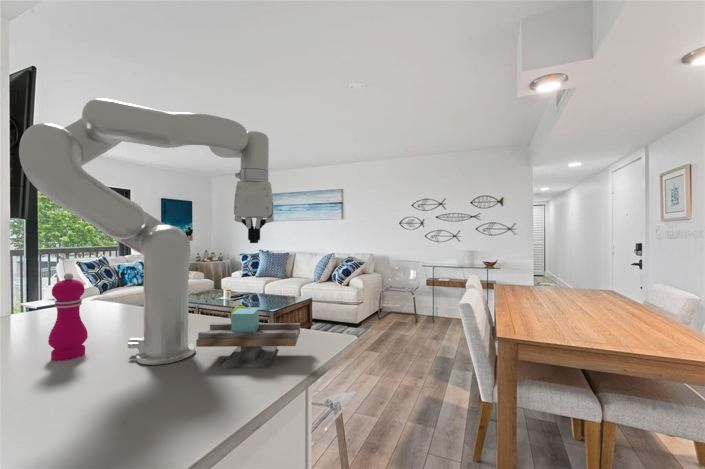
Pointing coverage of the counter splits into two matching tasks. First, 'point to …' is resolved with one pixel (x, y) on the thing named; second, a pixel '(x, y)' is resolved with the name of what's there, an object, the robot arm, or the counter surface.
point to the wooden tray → (250, 342)
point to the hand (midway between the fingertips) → (254, 242)
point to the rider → (245, 320)
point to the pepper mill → (68, 320)
